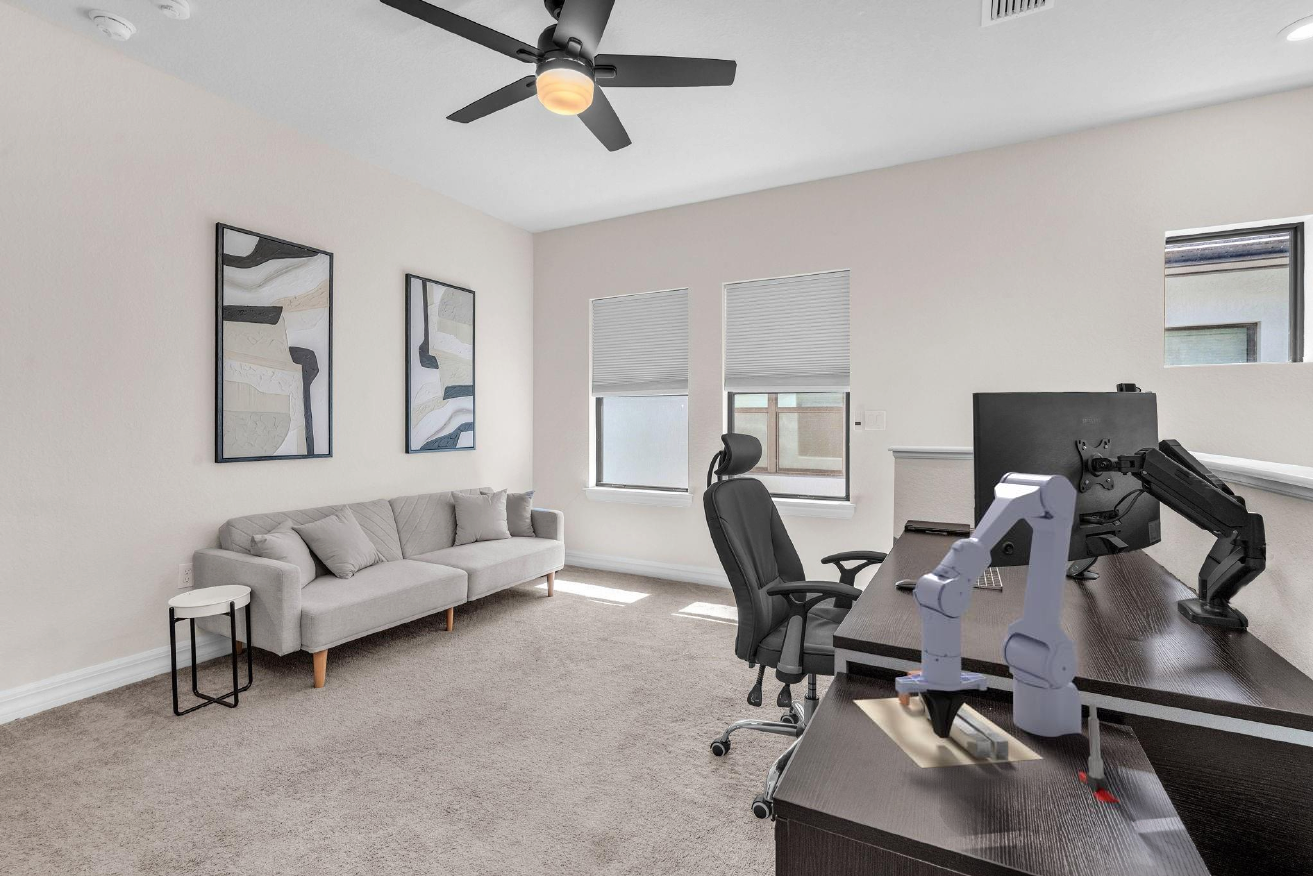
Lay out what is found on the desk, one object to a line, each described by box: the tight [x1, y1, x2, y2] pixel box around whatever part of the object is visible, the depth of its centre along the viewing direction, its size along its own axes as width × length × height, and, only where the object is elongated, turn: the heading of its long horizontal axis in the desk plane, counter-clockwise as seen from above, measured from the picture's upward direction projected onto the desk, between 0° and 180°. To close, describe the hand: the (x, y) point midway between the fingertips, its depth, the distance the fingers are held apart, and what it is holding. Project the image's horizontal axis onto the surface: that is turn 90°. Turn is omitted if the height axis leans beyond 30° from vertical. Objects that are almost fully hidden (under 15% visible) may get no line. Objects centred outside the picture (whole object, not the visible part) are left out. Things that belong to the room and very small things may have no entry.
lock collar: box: [898, 669, 922, 706], centre depth 109 cm, size 8×2×5 cm, turn 97°
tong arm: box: [925, 704, 991, 759], centre depth 96 cm, size 2×14×3 cm, turn 6°
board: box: [852, 696, 1044, 769], centre depth 100 cm, size 20×22×1 cm
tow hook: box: [1077, 702, 1119, 803], centre depth 83 cm, size 8×13×9 cm
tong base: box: [918, 692, 1008, 760], centre depth 100 cm, size 4×21×3 cm, turn 7°
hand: (941, 735), depth 94 cm, fingers closed
